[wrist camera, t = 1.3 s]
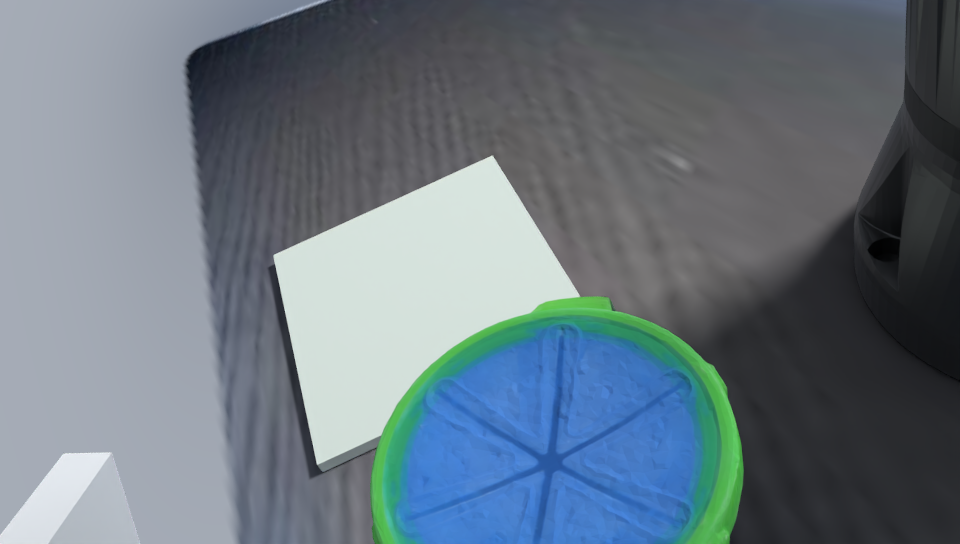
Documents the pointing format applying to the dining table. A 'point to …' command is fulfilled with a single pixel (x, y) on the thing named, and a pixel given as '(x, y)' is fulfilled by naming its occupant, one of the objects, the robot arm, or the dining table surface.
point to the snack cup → (561, 438)
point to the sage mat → (406, 297)
